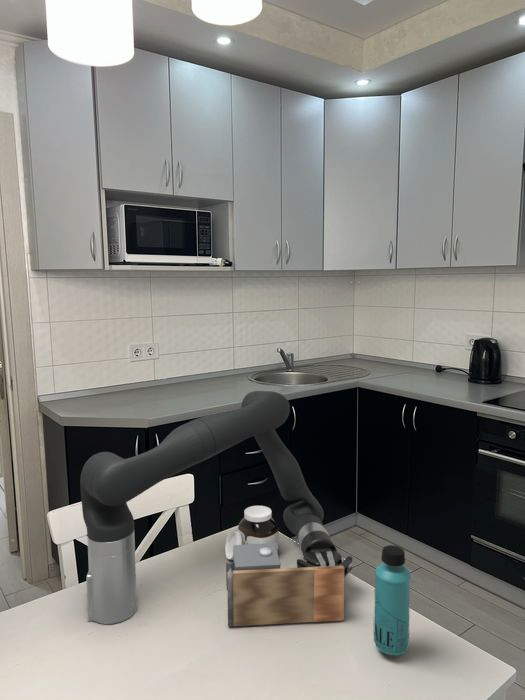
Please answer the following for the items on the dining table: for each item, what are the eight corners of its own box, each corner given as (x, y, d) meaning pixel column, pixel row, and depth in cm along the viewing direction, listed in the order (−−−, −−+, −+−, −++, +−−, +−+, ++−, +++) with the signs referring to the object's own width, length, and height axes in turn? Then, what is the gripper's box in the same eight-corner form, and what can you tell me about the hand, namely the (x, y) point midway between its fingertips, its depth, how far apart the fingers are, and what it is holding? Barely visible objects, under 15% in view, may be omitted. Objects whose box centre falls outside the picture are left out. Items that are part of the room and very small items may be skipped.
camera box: (227, 624, 104) (227, 563, 102) (226, 598, 112) (225, 541, 111) (280, 620, 105) (280, 560, 103) (274, 594, 113) (274, 539, 112)
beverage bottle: (410, 644, 98) (413, 543, 95) (407, 668, 91) (411, 560, 89) (374, 636, 100) (377, 537, 97) (370, 659, 94) (372, 554, 91)
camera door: (227, 626, 102) (227, 574, 101) (227, 622, 103) (227, 570, 102) (343, 620, 104) (344, 568, 103) (342, 616, 105) (342, 565, 104)
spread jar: (283, 556, 130) (283, 512, 128) (251, 574, 122) (251, 527, 120) (249, 540, 138) (249, 498, 137) (217, 556, 130) (216, 512, 129)
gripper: (288, 531, 120) (302, 571, 103) (344, 528, 122) (367, 567, 104) (288, 562, 121) (302, 606, 104) (343, 558, 122) (366, 602, 105)
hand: (334, 587), depth 104 cm, fingers closed
